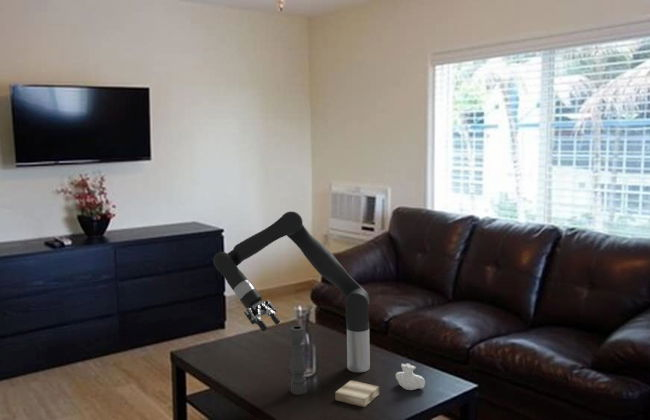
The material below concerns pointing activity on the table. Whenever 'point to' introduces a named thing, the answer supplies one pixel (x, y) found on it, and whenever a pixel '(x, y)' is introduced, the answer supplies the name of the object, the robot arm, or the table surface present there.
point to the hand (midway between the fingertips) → (272, 326)
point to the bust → (409, 378)
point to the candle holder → (298, 360)
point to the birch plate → (357, 393)
